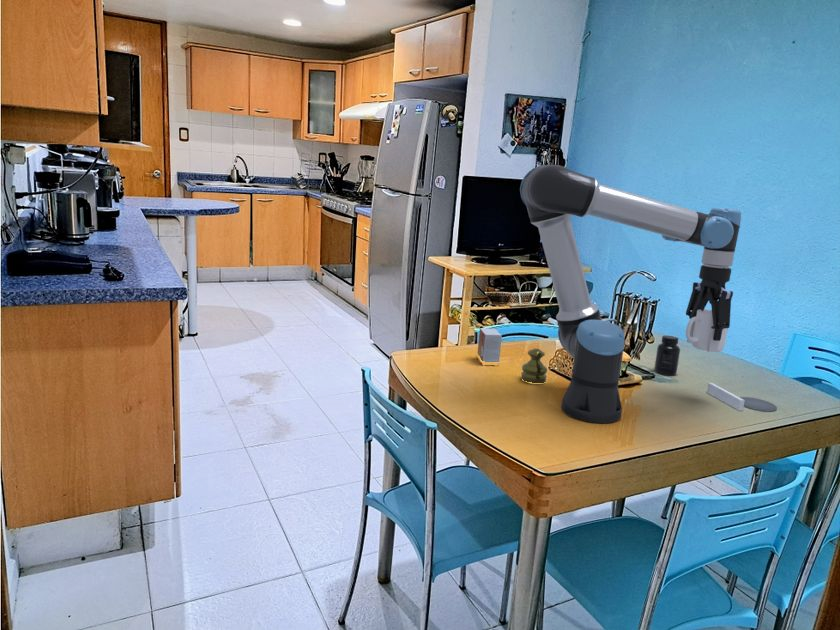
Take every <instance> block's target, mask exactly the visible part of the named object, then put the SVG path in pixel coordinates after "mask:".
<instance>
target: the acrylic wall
mask: <svg viewBox="0 0 840 630" xmlns="http://www.w3.org/2000/svg"><path fill="white" fill-rule="evenodd" d="M706 393H707V394H709V395H710V396H712V397H714V398H716V399H718V400H720V401H721V402H722V403H724V404H726V405H727V406H730V407H731V408H734V410H736V411H742V412H743V411H744V401H745V400H743V399H741V398H740V397H739V396H738V395H736V394H734V393H732V392H730V391H728V390H726V389H724V388H722V387H721V386H719V385H717V384H715V383H713V382H707V388H706Z"/></svg>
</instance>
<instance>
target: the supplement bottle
mask: <svg viewBox="0 0 840 630" xmlns="http://www.w3.org/2000/svg"><path fill="white" fill-rule="evenodd" d="M678 344H679V337H677V336H673V335H662V337H661V343H659V344H658V345H657V349H656V356H655V362H654V370H653V371H654V372H655V373H657V374H659V375H663V376H669V377H671V376H676V374H677V373H678V369H679V368H678V366H679V361H680V360H679V359H680V353H681V348H680V347H679V346H678Z"/></svg>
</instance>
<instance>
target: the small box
mask: <svg viewBox="0 0 840 630" xmlns="http://www.w3.org/2000/svg"><path fill="white" fill-rule="evenodd" d="M478 334H479V335H478V343H477V344H478V346H477V354H478V355H479V356H480V358H481V360H482V361H485V362H499V363H500V357H501V350H502V349H501V347H502V346H501V345H502V338H503V337H502V334H501V333H500V331H498V330H497V329H496V328H484V327H483V328H479V333H478Z"/></svg>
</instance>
